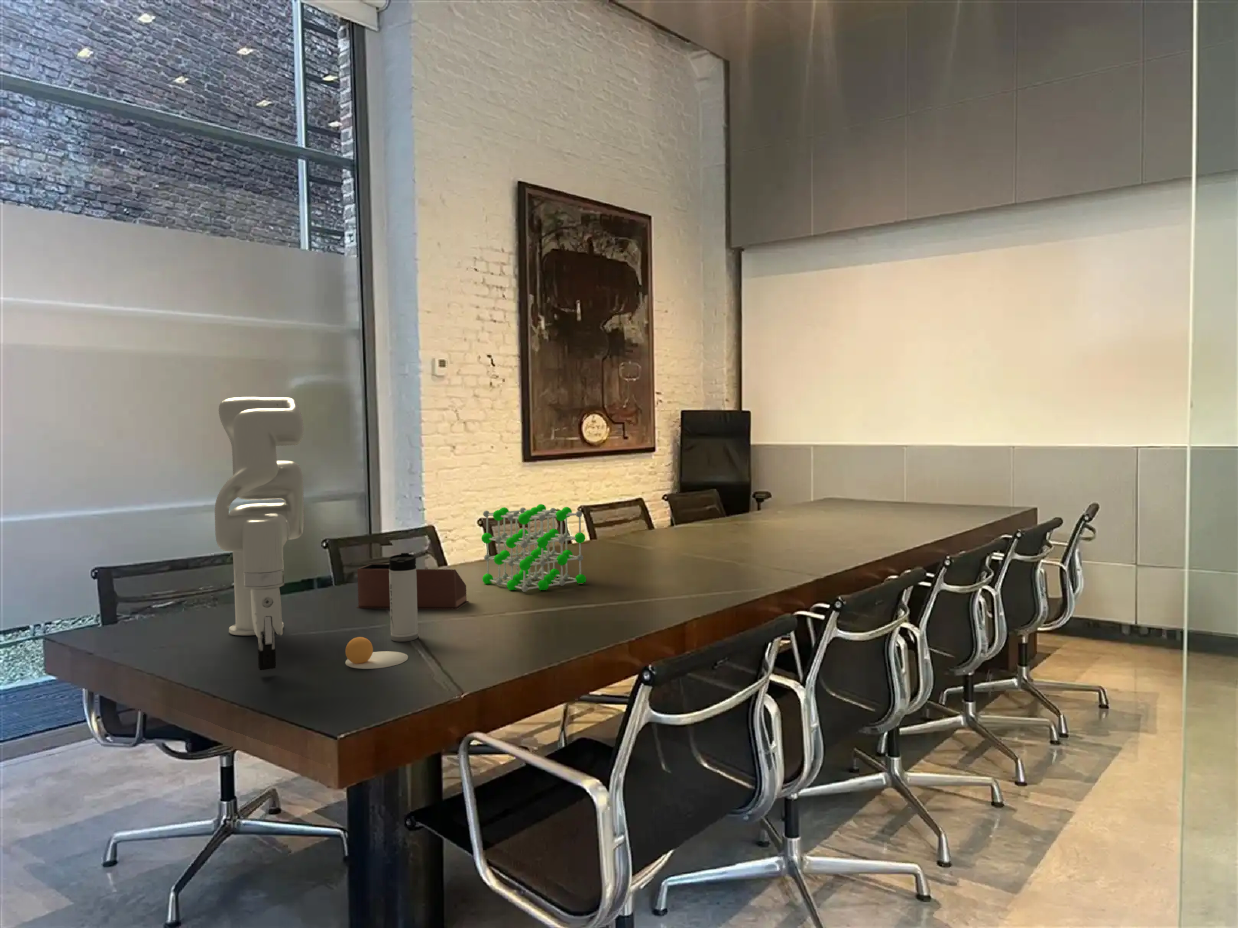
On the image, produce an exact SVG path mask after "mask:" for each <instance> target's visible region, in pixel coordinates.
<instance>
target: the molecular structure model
mask: <svg viewBox="0 0 1238 928" xmlns="http://www.w3.org/2000/svg"><path fill="white" fill-rule="evenodd" d="M482 515H483V517H485V521H486V522H485V523H486V524H485V526H486V527H485V528H486V530H485V531H486V532H485V533H483V534H482V535H481V538H480V539H481V542H483V543H484V544H486V554H485V555H484V556H483V558H484V560H485V561H486V573H484V574H483V576H482V579H481V581H482V582H483V584H485V585H490V584H492V583H496V585H498V586H502V585H505V586H506V588H507V590H509V591H511V590H514V591H516V590H517V589H519V590H520V589H521V591H522V592H524V593H526V592H528V590H535V589H538V590H539V591H541V590H546V589H547V590H548V589H549V587H554V586H564V585H566V584H571V583H576V582H577V583H584V582H585V583H586V581H587V577H586V575H584V574H582V561H583V560H584V556H583V554H582V543H584V542H585V541H586V535H585V533H583V532H582V527H581V526H582V516H583V512H582V511H581V510H577V511H576V512H573V511H572V509H571V507H569V506H564V507H563V508H562V509H558V510H557V509H556V508H555V507H551V508H550V509H549V510H548V509H547V507H546V505H544V504H542V503H540V504H537V505H536V506H533V507H531V508H529V509H526V508H525V507H523V506H522V507H520V508H519V510H509V508H507V507H504V506H502V507H501V508H499V509H497V510H495V511H494V512H490V511H488V510H484V511H483V512H482ZM489 516H491V517H492V518H493V519H494V520H495V521H496V522H497V535H496V536H493V535H492V534H491V533H490V532H489ZM573 516H576V517H577V518H578V532H577V533H576V534H575V535H574V536H572V535H570V534H569V533H568V518H570V517H573ZM551 518H552V528H551V529H550V519H551ZM555 518H556V520H557V521H559V522H560V527H559V528H560V531H559V530H558V529H557V528H555ZM506 519H507V520H508V521H509V522H510V523H509V524H510V526H509V527H510V532H509V533H510V534H508V533H507V532H506ZM502 520H503V523H502V524H503V525H502V526H503V528H502V529H503V532H502V533H501V529H500V521H502ZM514 520H515V533H514V534H513V521H514ZM537 520H539V521H540V522H539V524H540V527H539V529H538V530H537ZM544 520H547V521H546V522H547V523H546V525H547V526H546V529H547V530H546V531H547V532H546V531H545V530H544ZM531 521H534V531H533V532H532V531H531ZM563 522H564V525H565V526H564V527H565V528H564V529H565V530H564V533H563ZM518 523H520V525H522V528H520V529H519V530H518ZM526 525H527V529H528V530H527V529H526ZM559 532H560V533H559ZM500 533H501V534H500ZM492 541H495V543H496V544H497V554H496V555H490V554H489V551H490V550H489V544H490V543H491V542H492ZM568 541H575V542H576V543H577V544H578V547H579V548H578V555H573V552H572V551H571V550H570V549H568ZM557 542H558V543H559V544H560V552H558V551H557V550H556V549H555V547H556V546H555V543H557ZM501 543H503V550H501ZM551 543H552V549H551V551H550V544H551ZM564 543H565V546H564V547H565V550H563V549H564V547H563V545H564ZM531 545H533V546H534V549H533V550H531ZM518 546H520V547H521V548H522V549H521V550H520V552H519V550H518V549H519V548H518ZM506 547H508V548H509V549H510V551H509V550H507V548H506ZM527 547H528V548H527ZM526 548H527V550H528V551H527V550H526ZM513 549H515V553H514V552H513ZM519 555H520V556H519ZM513 556H514V557H513ZM490 560H491V561H492V560H493V561H494V564H495V565H497V566H498V567H497V569H498V570H497V571H498V572H497V574H498V576H497V577H493V574H490V573H489V570H490V566H489V563H490V562H489V561H490ZM574 560H575V561H576V560H577V561H578V563H579V564H578V568H579V569H578V571H579V573H578V574H577V575H576V576H575V577H570V576H571V575H570V574H569V573H568V562H569V561H574ZM556 563H557V564H558V565H560V570H559V569H557V568H556ZM550 564H552V569H551V566H550ZM502 565H503V573H502V575H501V566H502ZM507 565H509V567H510V575H509V574H508V573H507ZM514 565H515V574H514V569H513V568H514V567H513V566H514ZM538 565H539V566H540V568H539V569H538ZM546 565H547V571H546V570H545V568H544V567H545V566H546ZM533 566H534V572H531V568H532V567H533ZM564 566H565V573H564V569H563V567H564ZM519 569H520V570H519ZM550 569H551V570H550ZM563 573H564V574H563ZM527 577H528V578H527ZM554 577H558V578H555V579H554ZM503 580H504V581H503ZM533 580H534V581H533ZM535 580H536V581H535ZM551 583H553V584H551ZM577 583H576V584H577ZM585 583H584V584H585ZM532 585H533V586H532ZM547 590H546V591H547Z"/></svg>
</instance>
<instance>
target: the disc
mask: <svg viewBox="0 0 1238 928" xmlns="http://www.w3.org/2000/svg"><path fill="white" fill-rule="evenodd" d="M407 660H409V655H408V654H407V653H404V652H400V651H390V650H389V651H388V650H387V651H386V650H385V651H373V653H372V656H371V657H370V659H369V660H368V661H366V662H364V663H361V664H355V663H353V662H351V661H350V660H349V659H348V658H347V659H346V660H345V663H344V664H345V665H346V666H347V667H350V668H353V669H360V670H361V669H363V670H370V669H371V670H372V669H373V670H374V669H383V668H389V667H394V666H397V665H400V664H403V663H405V662H406V661H407Z"/></svg>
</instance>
